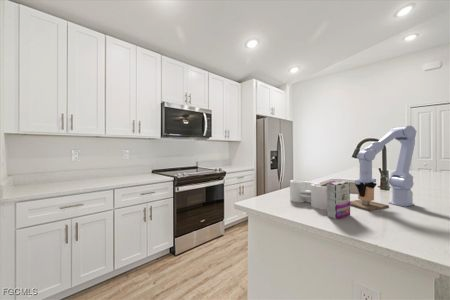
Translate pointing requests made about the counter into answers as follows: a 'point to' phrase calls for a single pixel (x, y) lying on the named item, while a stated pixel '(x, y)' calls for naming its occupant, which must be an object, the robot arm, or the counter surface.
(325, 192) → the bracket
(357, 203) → the post board
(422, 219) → the counter surface
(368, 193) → the tan rectangular block
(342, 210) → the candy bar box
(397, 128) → the robot arm
